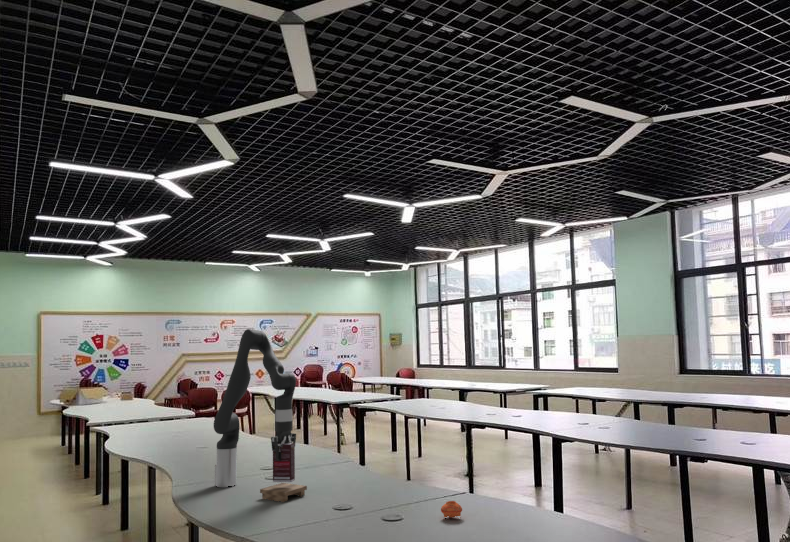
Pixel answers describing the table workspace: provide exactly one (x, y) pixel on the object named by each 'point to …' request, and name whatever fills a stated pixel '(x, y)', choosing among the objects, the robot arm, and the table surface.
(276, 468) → the supplement box
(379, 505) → the table surface
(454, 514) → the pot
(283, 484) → the tan board
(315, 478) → the table surface
